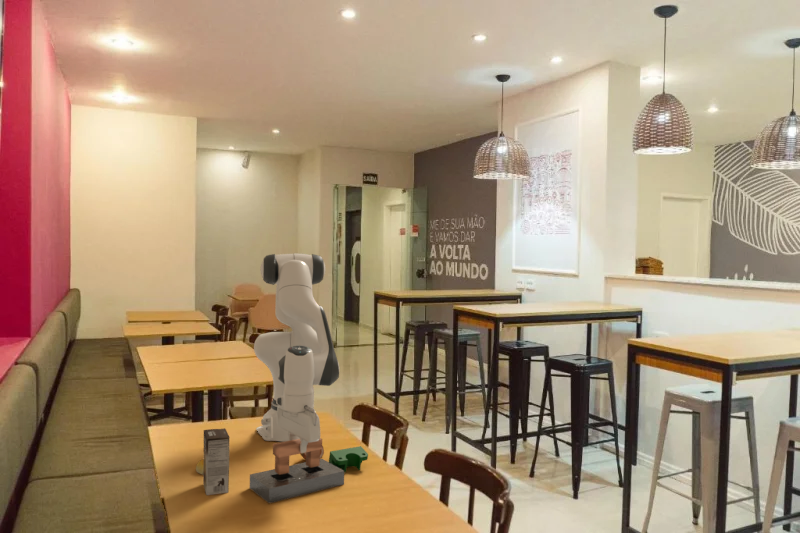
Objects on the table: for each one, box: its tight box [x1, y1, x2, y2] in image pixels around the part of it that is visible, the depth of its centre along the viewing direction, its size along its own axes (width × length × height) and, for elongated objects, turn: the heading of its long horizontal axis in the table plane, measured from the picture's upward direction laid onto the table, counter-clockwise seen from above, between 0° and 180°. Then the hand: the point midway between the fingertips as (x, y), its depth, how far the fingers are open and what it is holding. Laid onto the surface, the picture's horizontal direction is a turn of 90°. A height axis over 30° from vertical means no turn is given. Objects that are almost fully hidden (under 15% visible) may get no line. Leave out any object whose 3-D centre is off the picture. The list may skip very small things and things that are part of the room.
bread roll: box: [195, 458, 204, 475], centre depth 188 cm, size 8×9×4 cm
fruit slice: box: [299, 445, 325, 461], centre depth 198 cm, size 8×7×5 cm
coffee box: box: [202, 428, 230, 496], centre depth 174 cm, size 9×6×16 cm
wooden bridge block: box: [272, 437, 323, 475], centre depth 176 cm, size 4×14×8 cm, turn 128°
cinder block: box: [249, 458, 345, 504], centre depth 176 cm, size 13×24×4 cm, turn 128°
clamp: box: [328, 445, 369, 474], centre depth 192 cm, size 12×6×9 cm, turn 116°
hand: (298, 449), depth 176 cm, fingers closed on wooden bridge block, 4 cm apart
